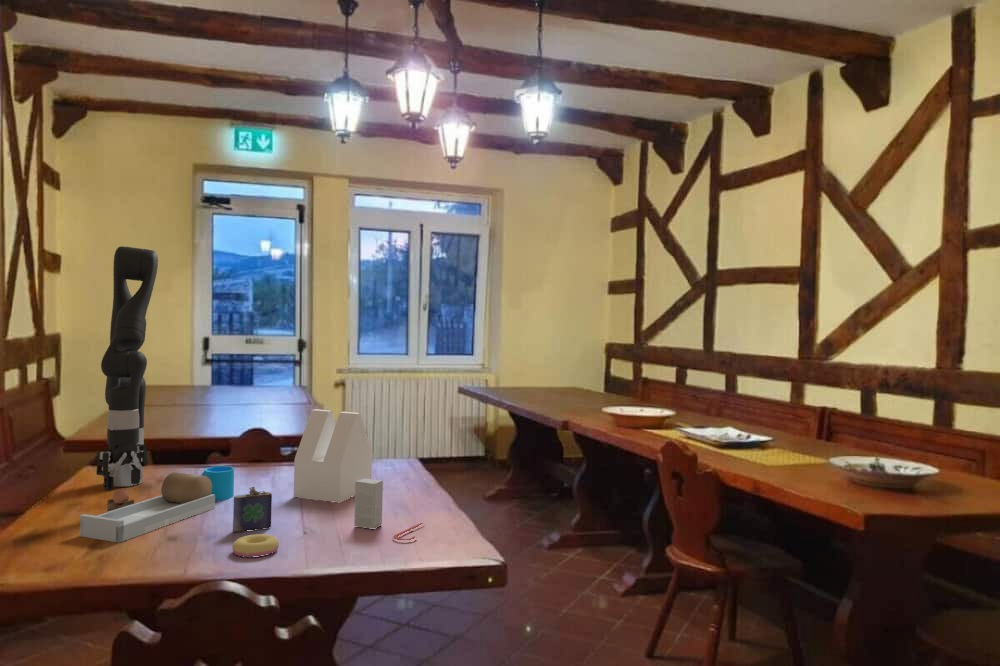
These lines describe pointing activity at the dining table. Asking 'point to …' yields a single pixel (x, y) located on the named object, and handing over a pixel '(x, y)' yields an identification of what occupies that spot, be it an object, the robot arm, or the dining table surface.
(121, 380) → the robot arm
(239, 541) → the donut
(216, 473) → the mug
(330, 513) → the dining table surface
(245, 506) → the flask
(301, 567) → the dining table surface
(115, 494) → the ball
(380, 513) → the skincare box
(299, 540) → the dining table surface
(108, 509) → the brown wooden bracket block
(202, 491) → the lane
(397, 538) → the candy cane
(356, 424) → the white slotted block
